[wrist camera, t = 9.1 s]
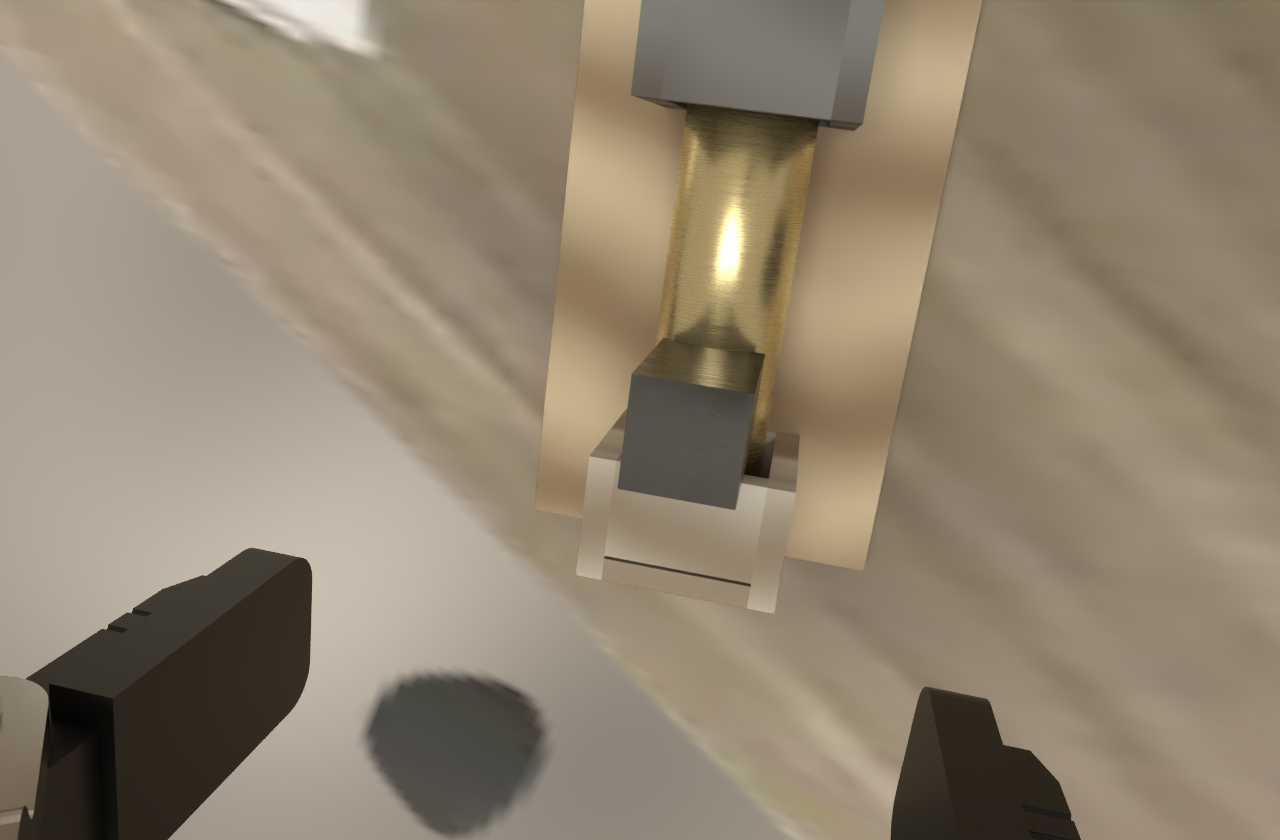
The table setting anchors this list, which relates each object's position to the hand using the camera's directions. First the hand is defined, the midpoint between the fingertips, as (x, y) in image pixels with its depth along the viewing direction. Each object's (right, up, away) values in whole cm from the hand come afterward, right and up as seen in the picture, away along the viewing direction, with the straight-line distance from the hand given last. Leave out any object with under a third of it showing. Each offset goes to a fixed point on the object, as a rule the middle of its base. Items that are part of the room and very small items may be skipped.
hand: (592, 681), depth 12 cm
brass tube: (+4, +8, +18) cm, 20 cm away
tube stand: (+4, +13, +19) cm, 23 cm away
